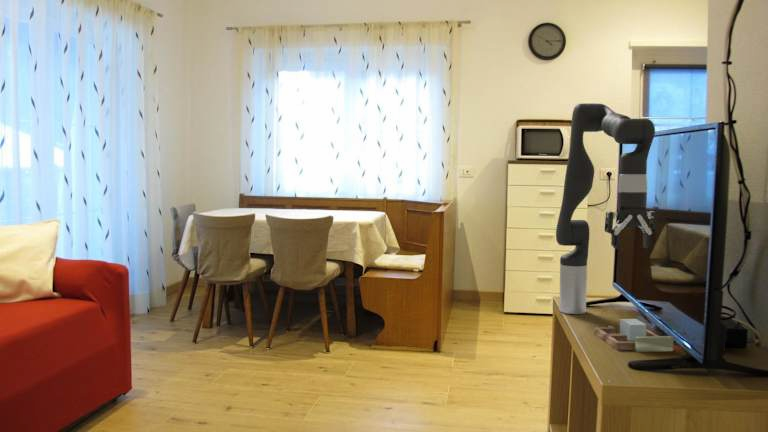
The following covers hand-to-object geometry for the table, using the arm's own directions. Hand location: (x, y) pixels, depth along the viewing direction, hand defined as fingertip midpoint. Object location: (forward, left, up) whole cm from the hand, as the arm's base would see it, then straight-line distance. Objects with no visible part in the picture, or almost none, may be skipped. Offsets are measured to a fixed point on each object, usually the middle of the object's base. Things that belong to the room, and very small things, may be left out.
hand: (630, 247), depth 167 cm
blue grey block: (-12, +7, -30) cm, 33 cm away
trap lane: (-8, +4, -29) cm, 31 cm away
